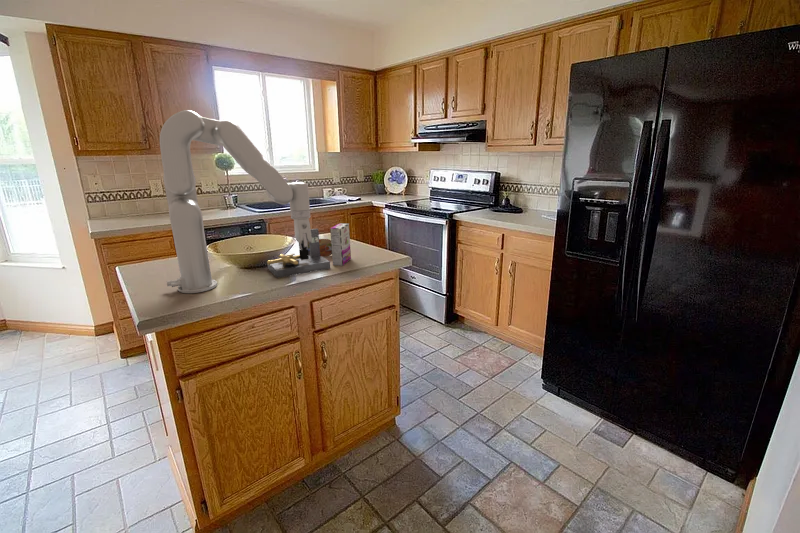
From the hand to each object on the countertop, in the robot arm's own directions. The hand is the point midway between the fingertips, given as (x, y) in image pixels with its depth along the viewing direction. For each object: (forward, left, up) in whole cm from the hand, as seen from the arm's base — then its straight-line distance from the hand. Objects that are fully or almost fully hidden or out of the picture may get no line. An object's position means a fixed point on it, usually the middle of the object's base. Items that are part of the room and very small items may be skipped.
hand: (304, 258), depth 154 cm
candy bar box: (+18, +3, -5) cm, 18 cm away
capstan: (-6, +2, -2) cm, 7 cm away
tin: (+14, +19, -5) cm, 23 cm away
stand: (-1, +4, -5) cm, 6 cm away
